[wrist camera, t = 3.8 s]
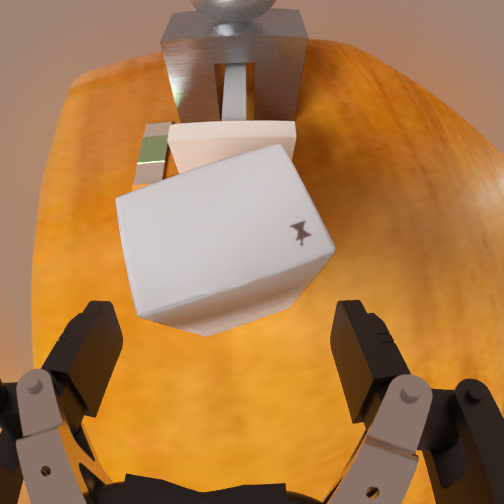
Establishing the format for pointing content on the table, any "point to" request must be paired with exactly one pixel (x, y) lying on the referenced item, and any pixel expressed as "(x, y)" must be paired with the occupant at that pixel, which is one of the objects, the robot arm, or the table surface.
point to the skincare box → (222, 242)
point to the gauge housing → (226, 51)
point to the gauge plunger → (226, 130)
